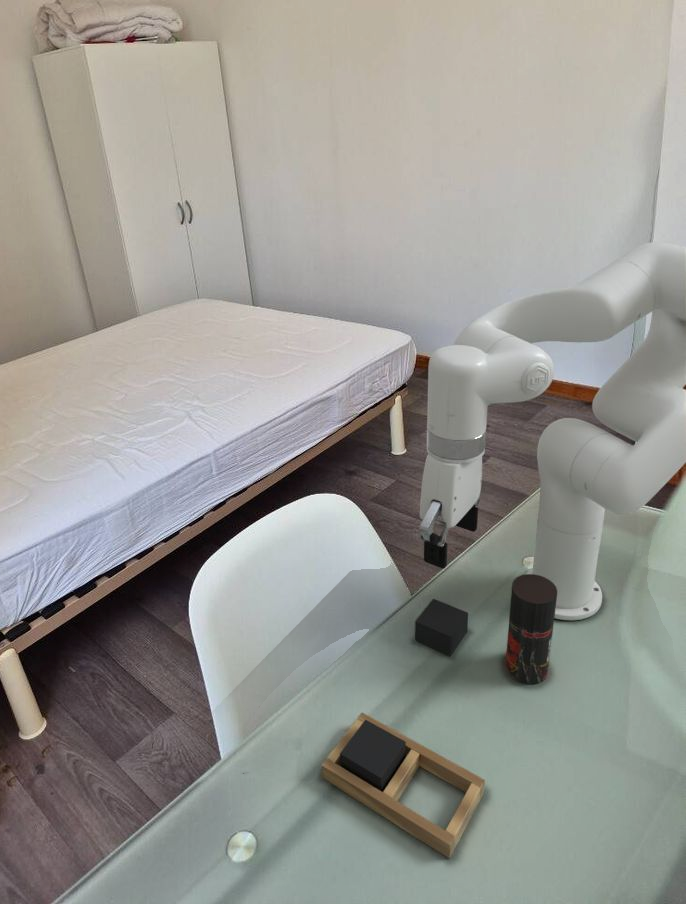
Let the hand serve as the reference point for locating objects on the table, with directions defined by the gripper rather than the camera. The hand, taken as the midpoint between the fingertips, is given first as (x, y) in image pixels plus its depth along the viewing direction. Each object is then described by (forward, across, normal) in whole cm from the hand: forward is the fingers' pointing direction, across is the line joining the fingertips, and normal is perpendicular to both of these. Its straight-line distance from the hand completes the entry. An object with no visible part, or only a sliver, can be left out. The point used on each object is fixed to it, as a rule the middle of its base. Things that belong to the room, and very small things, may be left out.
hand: (451, 545), depth 97 cm
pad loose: (+19, -1, -2) cm, 19 cm away
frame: (+19, +24, +6) cm, 31 cm away
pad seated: (+19, +24, +2) cm, 31 cm away
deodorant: (+19, -2, +12) cm, 22 cm away
